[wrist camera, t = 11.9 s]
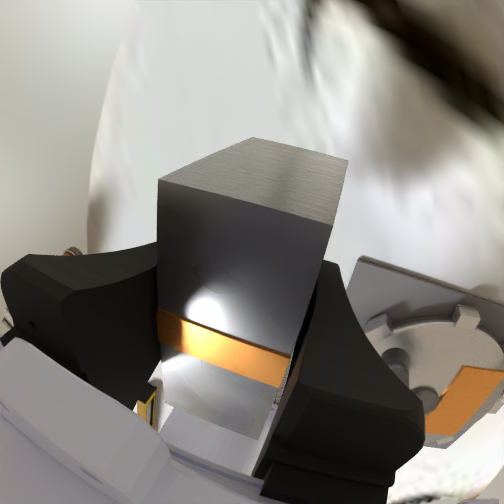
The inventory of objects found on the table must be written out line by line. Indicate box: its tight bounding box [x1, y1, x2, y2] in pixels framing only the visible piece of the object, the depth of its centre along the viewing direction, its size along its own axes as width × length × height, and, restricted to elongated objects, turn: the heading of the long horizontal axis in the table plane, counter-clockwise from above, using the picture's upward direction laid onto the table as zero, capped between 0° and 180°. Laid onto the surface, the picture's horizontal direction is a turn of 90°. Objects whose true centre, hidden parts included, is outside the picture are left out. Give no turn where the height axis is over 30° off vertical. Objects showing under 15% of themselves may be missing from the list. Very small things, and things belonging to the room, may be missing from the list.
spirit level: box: [137, 382, 157, 428], centre depth 42 cm, size 33×1×3 cm, turn 164°
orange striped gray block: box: [156, 137, 348, 440], centre depth 10 cm, size 4×8×6 cm, turn 171°
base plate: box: [346, 259, 504, 449], centre depth 22 cm, size 18×18×1 cm
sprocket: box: [365, 304, 504, 445], centre depth 20 cm, size 17×17×4 cm
